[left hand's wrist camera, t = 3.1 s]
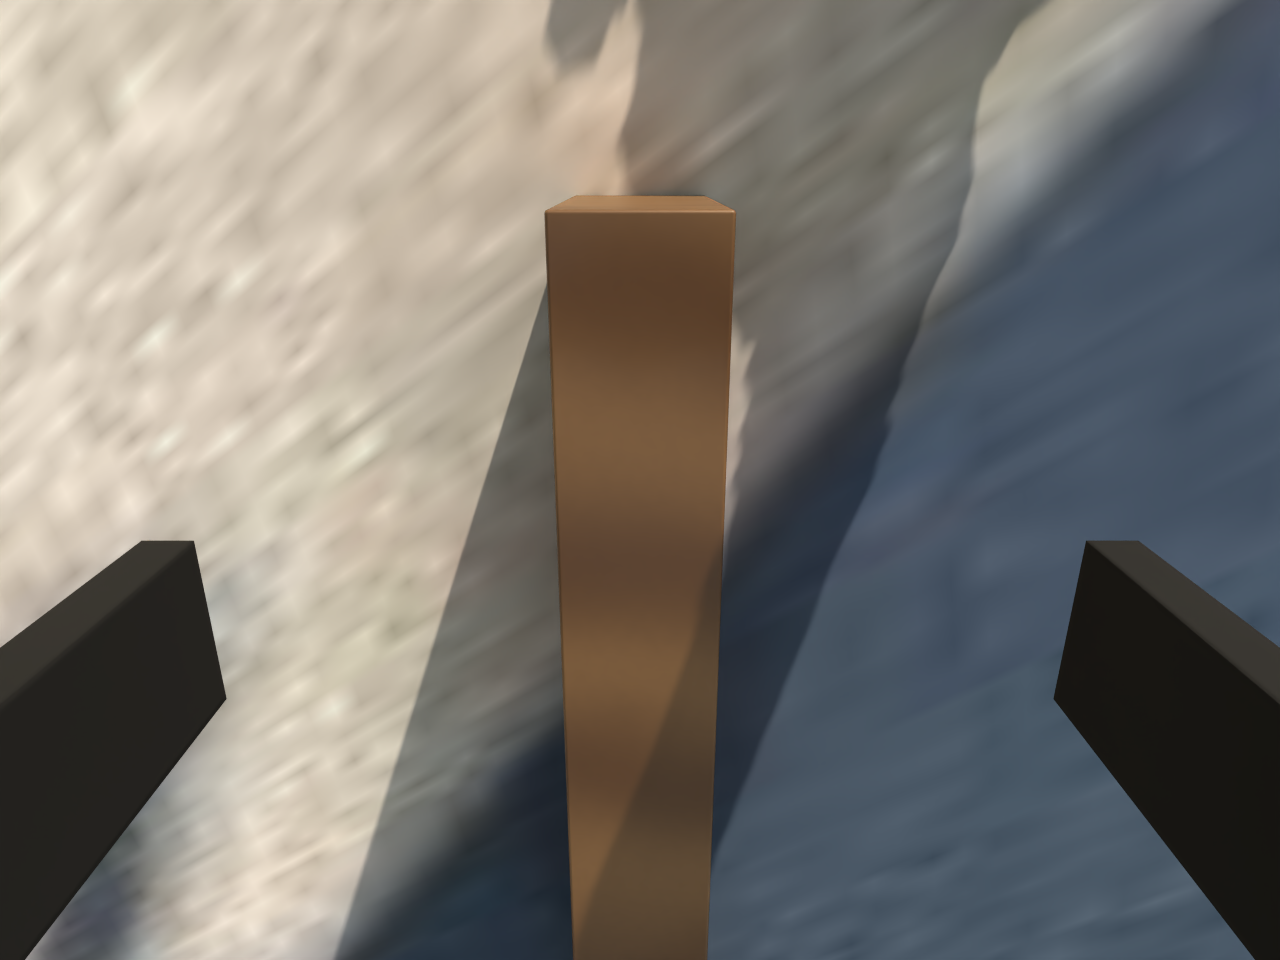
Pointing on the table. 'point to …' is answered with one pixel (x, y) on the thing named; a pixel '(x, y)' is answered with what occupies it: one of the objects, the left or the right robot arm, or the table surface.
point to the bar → (640, 556)
